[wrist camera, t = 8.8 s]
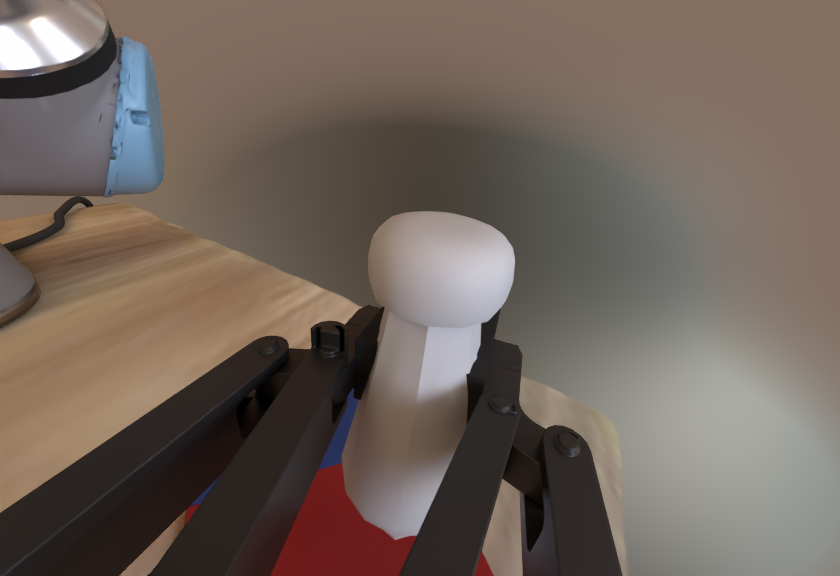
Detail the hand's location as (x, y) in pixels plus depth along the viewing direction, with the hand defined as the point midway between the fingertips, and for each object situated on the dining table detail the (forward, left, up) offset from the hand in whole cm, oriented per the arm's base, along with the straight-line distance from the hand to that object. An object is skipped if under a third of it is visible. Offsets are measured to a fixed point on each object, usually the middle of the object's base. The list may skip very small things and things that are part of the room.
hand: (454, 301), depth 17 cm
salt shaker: (+4, -3, -8) cm, 9 cm away
